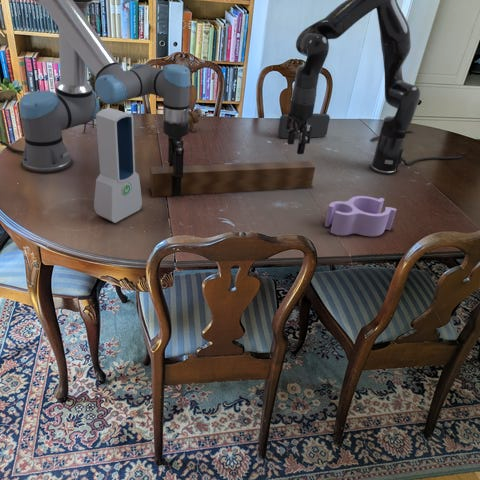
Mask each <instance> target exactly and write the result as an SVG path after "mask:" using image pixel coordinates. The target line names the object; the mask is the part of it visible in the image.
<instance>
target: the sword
mask: <svg viewBox="0 0 480 480" xmlns="http://www.w3.org/2000/svg"><path fill="white" fill-rule="evenodd" d="M410 132H411V131H407V132H406V133H410ZM378 139H379V135H378V136H375V137H372V138H371V142H374V141H376V140H378Z"/></svg>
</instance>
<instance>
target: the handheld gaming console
mask: <svg viewBox="0 0 480 480" xmlns="http://www.w3.org/2000/svg"><path fill="white" fill-rule="evenodd" d="M288 114H289V113H284V114H282V115H281V116H280V117H279V124H278V130H277V131H278V132H277V135H278V137H279V138H281V139H288V135H289V133H288V129H286V125H287V120H288ZM330 119H331V117H330V115H329V114H327V113H313V116H312V117H310V118H309V119H308V125H312V131H311V137H310V138H322V137H326V136H327V134H328V128H329V124H330ZM290 124H291V123H290ZM290 124H289V125H290ZM307 137H308V136H307ZM295 139H298V137H297V134H296V133H295ZM301 139H302V137H301Z"/></svg>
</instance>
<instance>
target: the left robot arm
mask: <svg viewBox="0 0 480 480" xmlns="http://www.w3.org/2000/svg"><path fill="white" fill-rule="evenodd" d="M34 2H35V3H36V4H37V5H38V6H39V7H40V6H41V7H43V8H44V9H45V11H46V12H47V14H48V15H49V16H50V18H51V19H52V20H53V22H54V23H55V24H56V26H57V27H58V29H57V30H58V53H59V54H58V55H59V57H58V58H59V80H58V81H57V82H56V83H55V92H54V91H51V90H40V91H39V90H36V91H31V92H28V93H26V94H24V95H22V97H21V98H20V100H19V103H18V104H19V116H20V119H21V125H22V132H23V137H24V148H23V150H21V149H16V148H14V147H11V146H10V145H9V144H8V143H6V142H4V141H2V140H0V145H3V146H4V147H6V148H7V149H9V150H10V151H12V152H15V153H19V154H22V158H21V159H22V160H21V161H22V166H23V168H24V169H25V170H27V171H29V172H33V173H39V174H46V173H56V172H61V171H63V170H66V169H67V168H69V167H70V166H71V163H72V159H71V155H70V150H67V149H68V148H67V147H66V145H65V143H64V140H63V131H65V130H69V129H71V128H75V127H78V126H82V125H83V126H84V124H86V125H88V124H89V123H91V122H92V121H93V120H94V121H95V120H96V119H95V118H96V114H97V113H98V112H99V110H100V108H99V107H100V101H101V102H102V101H103V102H104V104H106V105H113V104H121V103H123V102H125V101H129V100H131V99H136V98H140V97H143V96H144V97H145V96H148V95H153V96H157V97H161V98H163V99H162V102H163V104H162V106H163V107H162V119H163V125H162V126H163V127H162V128H163V133H164V134H165V135H166V136H167V139H168V141H167V142H168V143H167V145H168V146H167V147H168V149H167V151H168V152H167V153H168V154H167V163H168V166H173V175H171V178H172V196H182V195H181V178H183V166H184V156H185V155H184V154H185V148H184V140H183V139H182V138H183V137H185V136H188V134H189V131H190V128H189V122H188V120H189V114H190V113H191V112H192V110H191V109H192V108H190V96H191V95H190V94H191V85H192V83H191V70H190V68H189V67H187V66H186V65H183V64H176V63H171V64H166V65H164V67H163V68H158V67H155V66H151V64H145V63H135V64H134V65H132V67H130V68H129V69H128V70H124V69H123V68H122V66H121V64H120V63H119V62H118V61H117V59H116V58H115V57H114V55H113V54H112V52H111V51H110V50H109V48H108V47H107V46H106V44H105V42H104V41H103V40H102V38H101V37H100V36H99V34H98V33H97V31H96V30H95V29H94V27H93V25H91V23H90V21H88V6H89V5H91V4H92V3H93V0H34ZM88 69H89V72H90V71H91V72H92V73H91V74H93V75H94V76H95V79H97V80H96V82H95V85H94V86H95V87H94V88H95V89H94V91H93V89H92V88H93V86H91V85H90V83H89V81H87V80H88ZM95 90H96V91H97V95H96V92H95ZM97 96H98V99H100V100H98V99H97ZM87 123H88V124H87Z"/></svg>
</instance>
